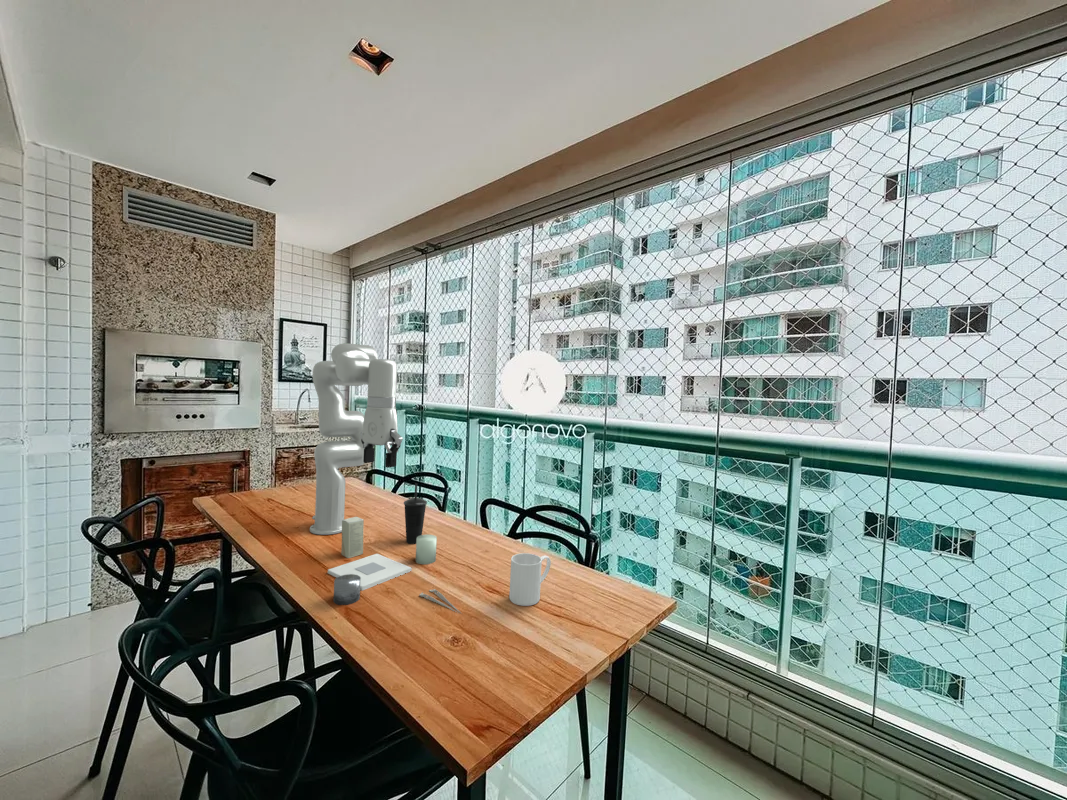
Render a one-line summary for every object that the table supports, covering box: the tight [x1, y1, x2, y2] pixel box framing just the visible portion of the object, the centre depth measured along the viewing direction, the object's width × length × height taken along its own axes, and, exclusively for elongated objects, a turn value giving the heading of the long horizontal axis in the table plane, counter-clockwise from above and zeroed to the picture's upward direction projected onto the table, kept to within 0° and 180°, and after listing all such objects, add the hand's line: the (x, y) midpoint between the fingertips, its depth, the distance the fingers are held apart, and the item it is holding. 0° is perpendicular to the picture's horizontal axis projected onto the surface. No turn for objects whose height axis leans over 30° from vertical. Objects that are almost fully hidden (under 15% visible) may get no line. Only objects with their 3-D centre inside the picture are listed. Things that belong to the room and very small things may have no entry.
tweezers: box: [418, 588, 462, 614], centre depth 110 cm, size 17×5×2 cm, turn 49°
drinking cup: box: [403, 482, 428, 545], centre depth 151 cm, size 8×8×20 cm
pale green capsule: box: [415, 534, 438, 565], centre depth 136 cm, size 6×6×7 cm
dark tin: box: [333, 574, 361, 606], centre depth 110 cm, size 6×6×5 cm
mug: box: [508, 552, 552, 607], centre depth 116 cm, size 12×8×10 cm, turn 130°
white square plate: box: [327, 553, 413, 591], centre depth 126 cm, size 16×16×1 cm
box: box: [340, 516, 364, 559], centre depth 138 cm, size 5×4×11 cm
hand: (379, 464), depth 125 cm, fingers open, 9 cm apart
